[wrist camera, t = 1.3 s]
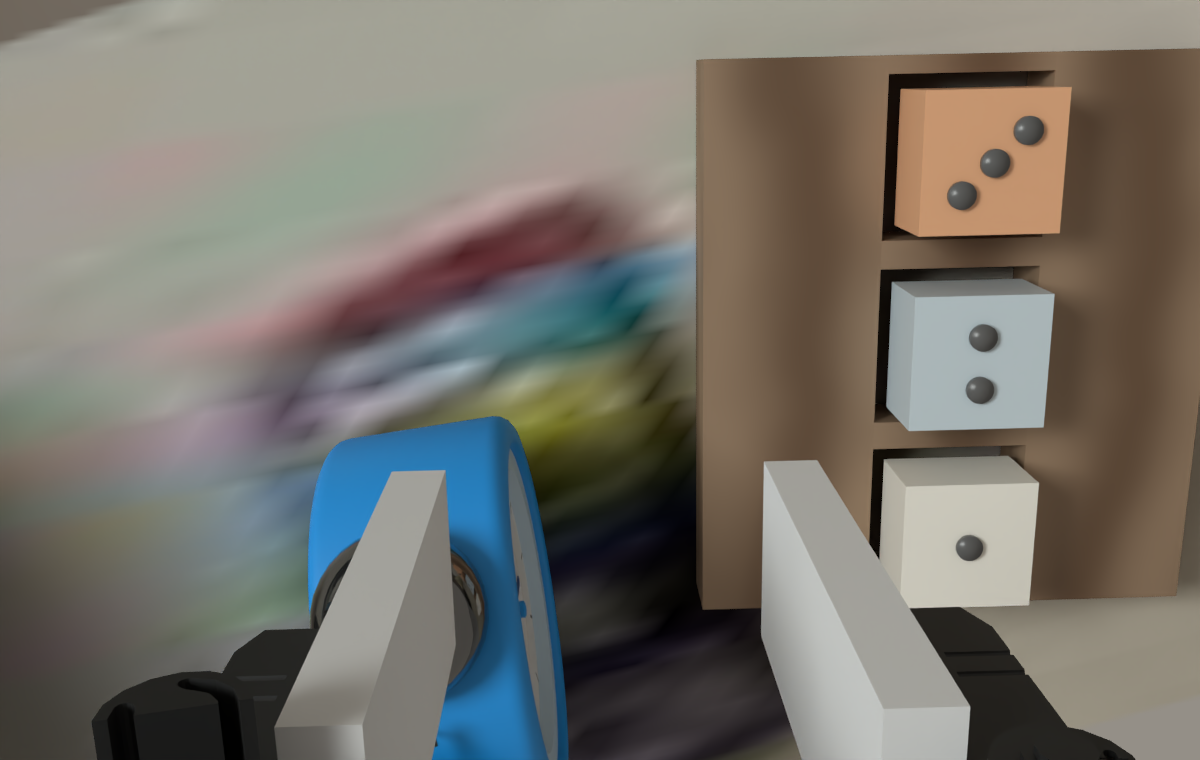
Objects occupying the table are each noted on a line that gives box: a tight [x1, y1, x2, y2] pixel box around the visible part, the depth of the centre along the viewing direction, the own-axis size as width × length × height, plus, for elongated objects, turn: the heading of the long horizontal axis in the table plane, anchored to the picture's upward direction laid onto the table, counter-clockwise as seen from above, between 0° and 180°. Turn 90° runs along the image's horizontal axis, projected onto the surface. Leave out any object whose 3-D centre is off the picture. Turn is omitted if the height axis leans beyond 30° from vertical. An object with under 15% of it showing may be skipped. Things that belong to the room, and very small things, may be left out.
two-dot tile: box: [886, 279, 1055, 431], centre depth 40 cm, size 5×5×3 cm
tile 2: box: [879, 456, 1039, 608], centre depth 41 cm, size 5×5×3 cm
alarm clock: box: [308, 416, 568, 760], centre depth 38 cm, size 13×6×15 cm, turn 9°
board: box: [696, 49, 1200, 610], centre depth 42 cm, size 18×20×2 cm
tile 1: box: [895, 86, 1072, 237], centre depth 38 cm, size 5×5×3 cm
